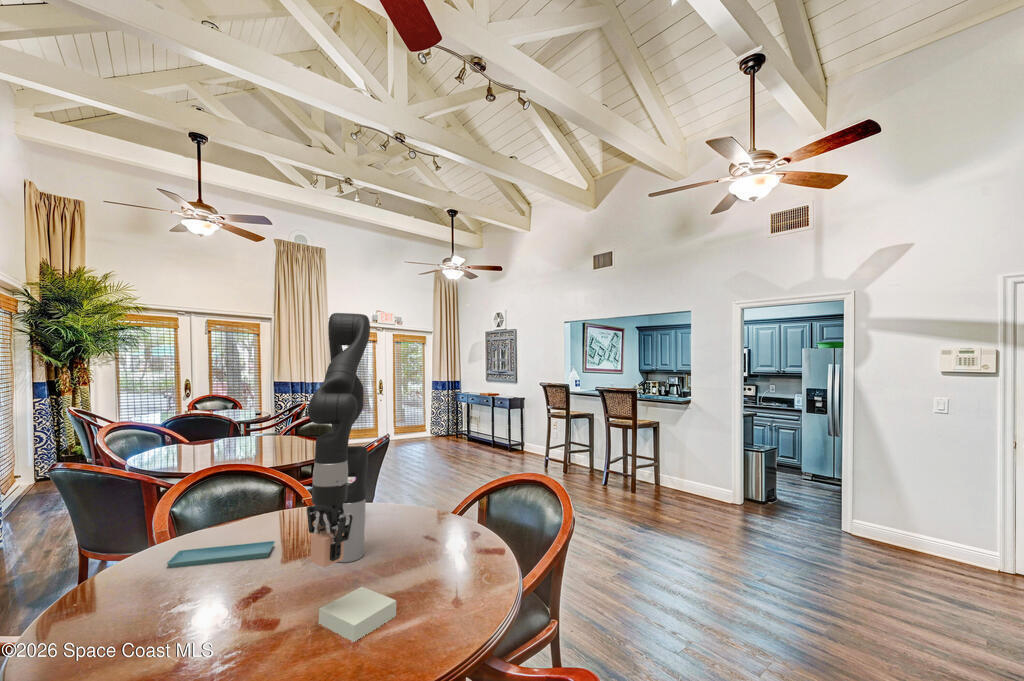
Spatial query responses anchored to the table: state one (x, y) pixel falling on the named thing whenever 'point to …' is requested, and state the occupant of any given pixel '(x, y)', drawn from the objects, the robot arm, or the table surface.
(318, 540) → the terracotta block
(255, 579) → the table surface
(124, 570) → the table surface
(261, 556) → the teal serving tray
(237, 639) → the table surface
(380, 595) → the sage base block
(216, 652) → the table surface
